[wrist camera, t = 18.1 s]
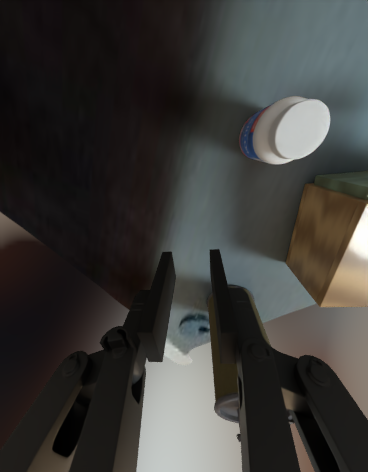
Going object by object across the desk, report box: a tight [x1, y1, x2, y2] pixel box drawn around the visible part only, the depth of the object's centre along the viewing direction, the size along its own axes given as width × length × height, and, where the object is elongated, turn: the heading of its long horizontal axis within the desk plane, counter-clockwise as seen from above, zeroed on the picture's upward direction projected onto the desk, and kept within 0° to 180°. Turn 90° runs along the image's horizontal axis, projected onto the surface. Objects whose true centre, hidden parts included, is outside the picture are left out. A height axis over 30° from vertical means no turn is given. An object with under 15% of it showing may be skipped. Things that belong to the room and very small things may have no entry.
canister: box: [207, 286, 294, 442], centre depth 27 cm, size 11×10×20 cm
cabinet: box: [286, 183, 368, 307], centre depth 22 cm, size 15×13×10 cm
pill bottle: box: [239, 96, 330, 164], centre depth 17 cm, size 6×5×10 cm
